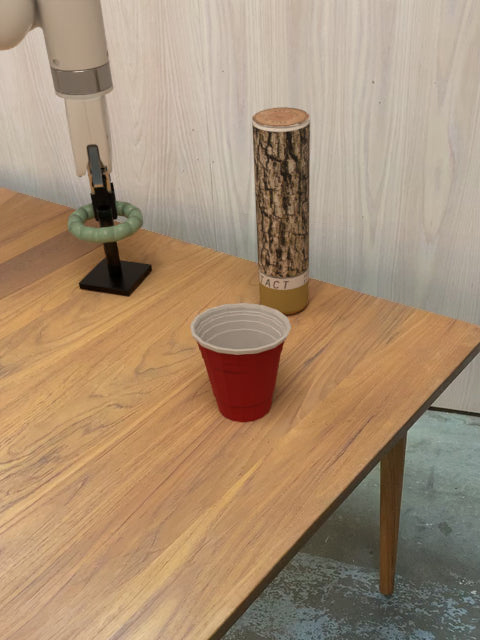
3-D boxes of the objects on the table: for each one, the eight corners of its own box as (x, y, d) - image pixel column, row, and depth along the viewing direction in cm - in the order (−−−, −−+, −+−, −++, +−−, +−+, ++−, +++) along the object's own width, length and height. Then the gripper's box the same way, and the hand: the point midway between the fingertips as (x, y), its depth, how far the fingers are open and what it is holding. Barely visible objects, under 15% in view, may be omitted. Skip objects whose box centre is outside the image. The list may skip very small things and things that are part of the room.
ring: (55, 239, 108) (52, 225, 106) (92, 207, 115) (89, 194, 113) (122, 250, 105) (119, 236, 104) (156, 216, 112) (154, 203, 111)
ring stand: (79, 289, 113) (63, 216, 106) (105, 263, 119) (91, 193, 111) (129, 296, 111) (116, 223, 104) (152, 270, 117) (142, 199, 109)
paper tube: (283, 286, 112) (280, 103, 95) (318, 303, 108) (322, 115, 91) (249, 305, 109) (240, 118, 92) (284, 322, 105) (281, 131, 88)
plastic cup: (306, 395, 93) (307, 307, 85) (268, 450, 86) (265, 360, 78) (225, 375, 97) (218, 289, 88) (183, 426, 90) (171, 337, 81)
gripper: (55, 62, 106) (81, 195, 118) (50, 100, 94) (79, 243, 107) (110, 58, 106) (130, 190, 119) (112, 95, 95) (134, 237, 107)
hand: (106, 214), depth 113 cm, fingers closed on ring, 2 cm apart
